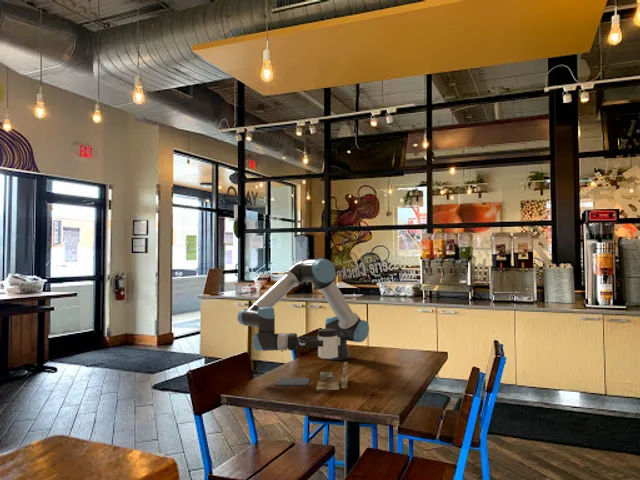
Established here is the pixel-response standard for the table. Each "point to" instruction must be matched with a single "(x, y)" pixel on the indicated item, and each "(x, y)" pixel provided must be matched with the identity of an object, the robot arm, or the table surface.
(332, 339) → the jar
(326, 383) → the offcuts
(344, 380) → the rack
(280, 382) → the mat
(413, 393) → the table surface
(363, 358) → the table surface
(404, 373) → the table surface
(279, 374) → the table surface
